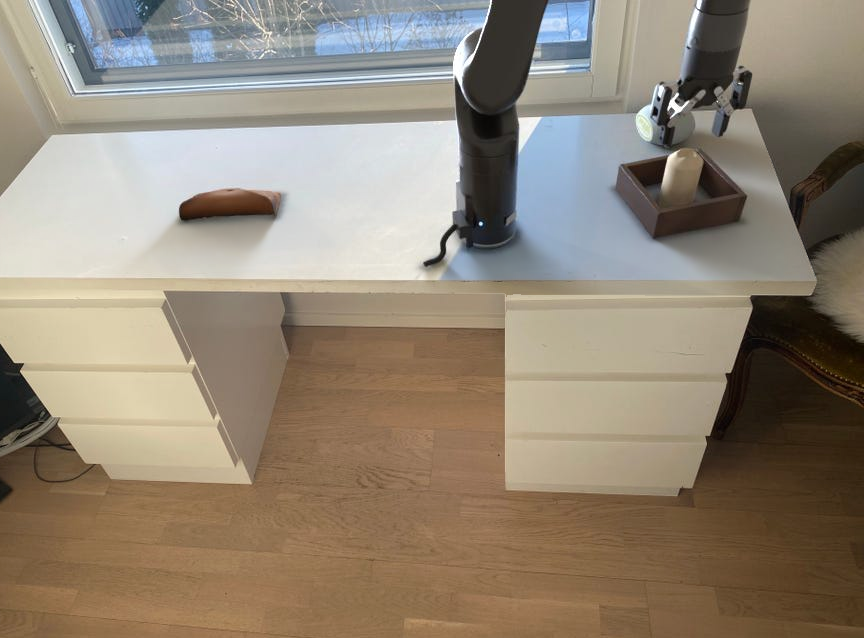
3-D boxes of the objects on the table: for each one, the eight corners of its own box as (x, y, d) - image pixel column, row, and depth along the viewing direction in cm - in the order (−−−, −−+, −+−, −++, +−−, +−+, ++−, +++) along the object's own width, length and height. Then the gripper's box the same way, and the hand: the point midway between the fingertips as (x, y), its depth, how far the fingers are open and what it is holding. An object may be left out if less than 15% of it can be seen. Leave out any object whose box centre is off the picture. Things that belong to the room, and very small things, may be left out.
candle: (693, 214, 121) (707, 162, 113) (658, 213, 122) (670, 161, 115) (690, 195, 124) (703, 143, 117) (657, 194, 125) (668, 143, 118)
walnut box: (652, 238, 118) (658, 213, 114) (615, 189, 128) (619, 164, 124) (739, 220, 118) (747, 195, 115) (695, 173, 129) (701, 148, 125)
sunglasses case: (282, 190, 137) (273, 174, 130) (281, 224, 135) (272, 210, 129) (190, 196, 139) (177, 180, 132) (189, 230, 137) (175, 216, 131)
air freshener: (629, 127, 141) (637, 78, 134) (669, 120, 142) (679, 70, 134) (653, 156, 134) (664, 105, 126) (696, 147, 134) (708, 97, 127)
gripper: (747, 18, 105) (721, 120, 117) (654, 36, 105) (638, 137, 116) (776, 38, 100) (746, 143, 112) (679, 58, 99) (659, 161, 111)
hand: (691, 140), depth 114 cm, fingers open, 8 cm apart
